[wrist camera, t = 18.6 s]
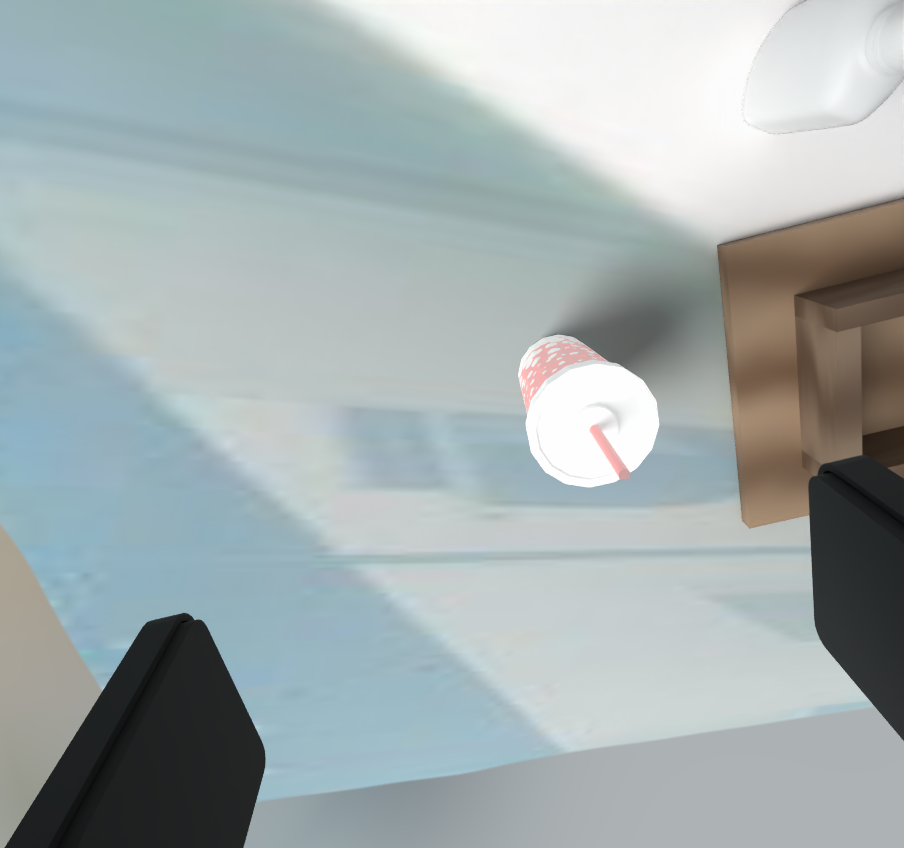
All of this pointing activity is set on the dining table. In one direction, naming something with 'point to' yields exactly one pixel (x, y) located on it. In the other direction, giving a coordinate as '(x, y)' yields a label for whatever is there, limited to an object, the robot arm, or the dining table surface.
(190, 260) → the dining table surface
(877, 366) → the walnut stand
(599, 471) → the beverage cup
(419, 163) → the dining table surface
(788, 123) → the eye dropper bottle
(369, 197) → the dining table surface
